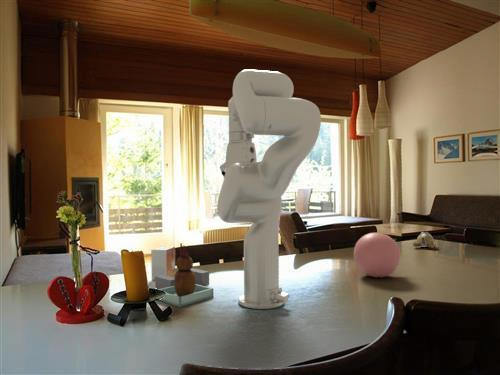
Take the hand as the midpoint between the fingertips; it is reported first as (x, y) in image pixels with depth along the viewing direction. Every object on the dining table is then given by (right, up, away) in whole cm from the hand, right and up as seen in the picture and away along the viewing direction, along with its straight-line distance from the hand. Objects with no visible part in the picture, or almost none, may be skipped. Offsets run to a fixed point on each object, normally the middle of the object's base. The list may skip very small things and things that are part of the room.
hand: (240, 191), depth 130 cm
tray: (-16, -30, -16) cm, 38 cm away
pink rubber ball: (+49, -30, +10) cm, 58 cm away
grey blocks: (-18, -30, -3) cm, 36 cm away
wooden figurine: (-16, -30, -16) cm, 37 cm away
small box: (-27, -31, +8) cm, 41 cm away
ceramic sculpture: (+91, -29, +70) cm, 118 cm away
